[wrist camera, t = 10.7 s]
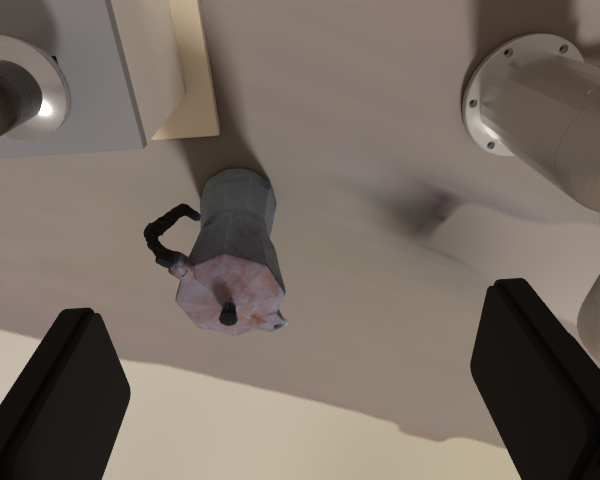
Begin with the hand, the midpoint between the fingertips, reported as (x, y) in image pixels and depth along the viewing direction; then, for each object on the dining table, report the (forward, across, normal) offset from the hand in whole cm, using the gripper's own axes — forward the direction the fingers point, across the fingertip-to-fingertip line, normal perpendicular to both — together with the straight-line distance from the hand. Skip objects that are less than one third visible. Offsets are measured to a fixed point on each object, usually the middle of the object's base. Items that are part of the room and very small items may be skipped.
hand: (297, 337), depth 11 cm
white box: (+38, +15, -3) cm, 41 cm away
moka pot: (+38, +7, +15) cm, 42 cm away
